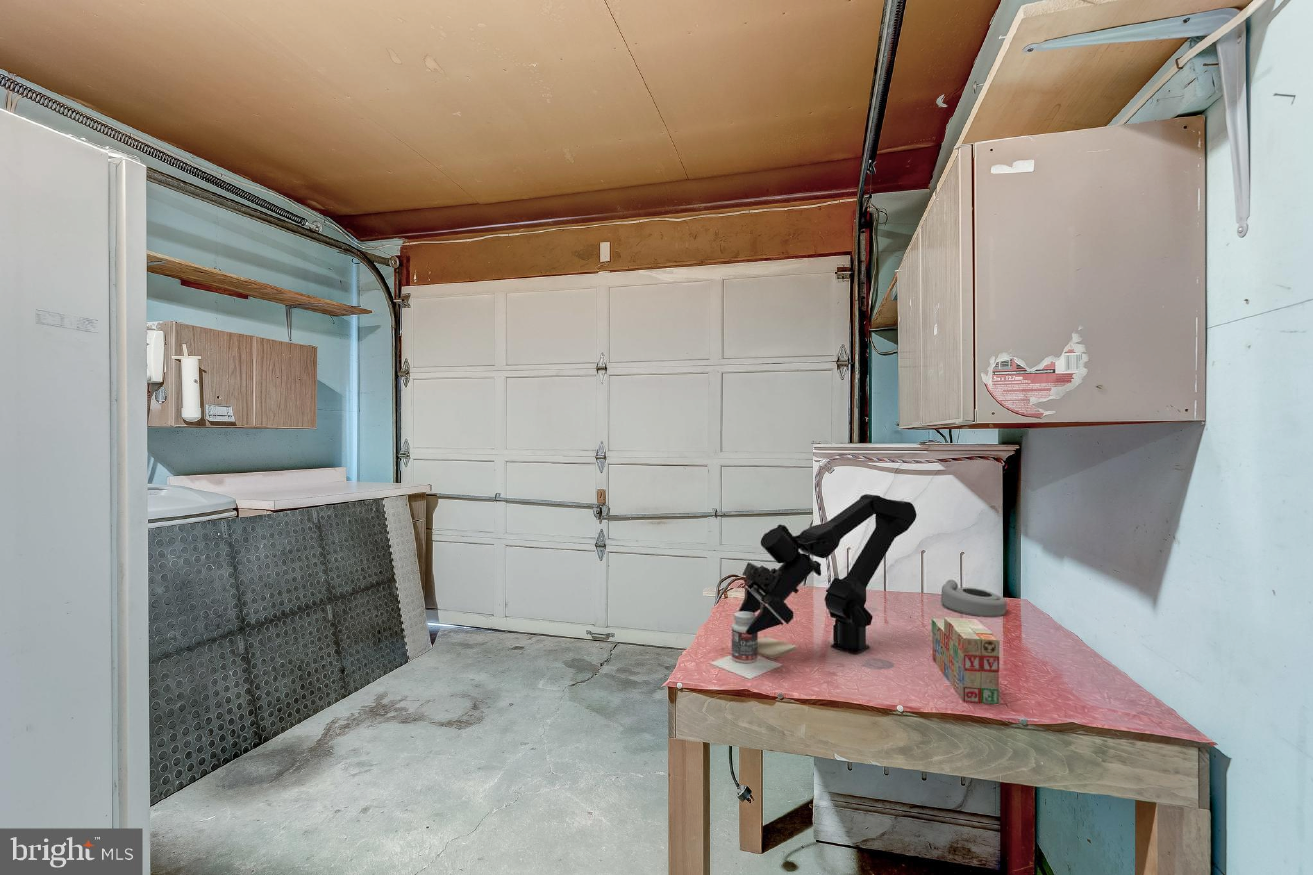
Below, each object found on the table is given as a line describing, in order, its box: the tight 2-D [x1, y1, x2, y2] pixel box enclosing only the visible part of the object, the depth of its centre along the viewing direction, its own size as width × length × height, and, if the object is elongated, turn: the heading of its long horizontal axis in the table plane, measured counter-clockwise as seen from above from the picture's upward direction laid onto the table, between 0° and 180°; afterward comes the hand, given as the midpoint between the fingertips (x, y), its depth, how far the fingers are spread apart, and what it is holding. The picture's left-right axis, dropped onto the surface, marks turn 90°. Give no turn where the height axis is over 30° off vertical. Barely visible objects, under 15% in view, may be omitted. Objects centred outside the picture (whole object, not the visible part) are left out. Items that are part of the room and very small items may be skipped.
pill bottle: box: [731, 611, 759, 663], centre depth 127 cm, size 6×6×10 cm
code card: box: [709, 654, 783, 680], centre depth 124 cm, size 11×11×1 cm
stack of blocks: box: [931, 617, 1001, 705], centre depth 116 cm, size 21×6×12 cm, turn 169°
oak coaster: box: [758, 636, 797, 659], centre depth 134 cm, size 9×9×1 cm
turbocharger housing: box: [940, 579, 1008, 618], centre depth 165 cm, size 17×6×15 cm
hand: (741, 626), depth 127 cm, fingers open, 9 cm apart
